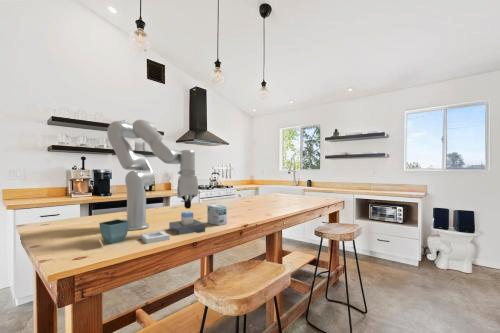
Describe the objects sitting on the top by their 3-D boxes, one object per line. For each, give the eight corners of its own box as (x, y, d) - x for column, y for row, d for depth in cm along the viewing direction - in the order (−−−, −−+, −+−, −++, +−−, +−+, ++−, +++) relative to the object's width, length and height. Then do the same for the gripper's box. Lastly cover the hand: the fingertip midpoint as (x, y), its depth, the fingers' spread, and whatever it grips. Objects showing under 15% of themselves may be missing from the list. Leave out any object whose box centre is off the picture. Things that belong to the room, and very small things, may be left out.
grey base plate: (146, 244, 105) (146, 239, 105) (140, 239, 113) (140, 233, 113) (169, 240, 111) (169, 235, 111) (162, 235, 119) (162, 230, 119)
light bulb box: (227, 223, 145) (227, 205, 145) (218, 225, 140) (218, 207, 140) (215, 221, 152) (215, 203, 152) (206, 223, 147) (206, 205, 147)
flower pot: (109, 246, 102) (109, 225, 102) (98, 243, 107) (98, 222, 107) (129, 241, 110) (129, 221, 110) (118, 238, 114) (118, 219, 114)
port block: (179, 235, 119) (179, 227, 119) (169, 229, 130) (169, 221, 130) (205, 231, 127) (205, 223, 127) (193, 226, 138) (193, 218, 138)
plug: (184, 231, 125) (184, 213, 125) (181, 229, 129) (181, 212, 129) (193, 230, 128) (193, 212, 128) (189, 228, 132) (189, 211, 132)
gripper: (176, 173, 121) (176, 210, 121) (203, 173, 130) (203, 207, 130) (171, 173, 127) (171, 208, 127) (197, 173, 136) (197, 206, 136)
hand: (187, 208), depth 129 cm, fingers closed
